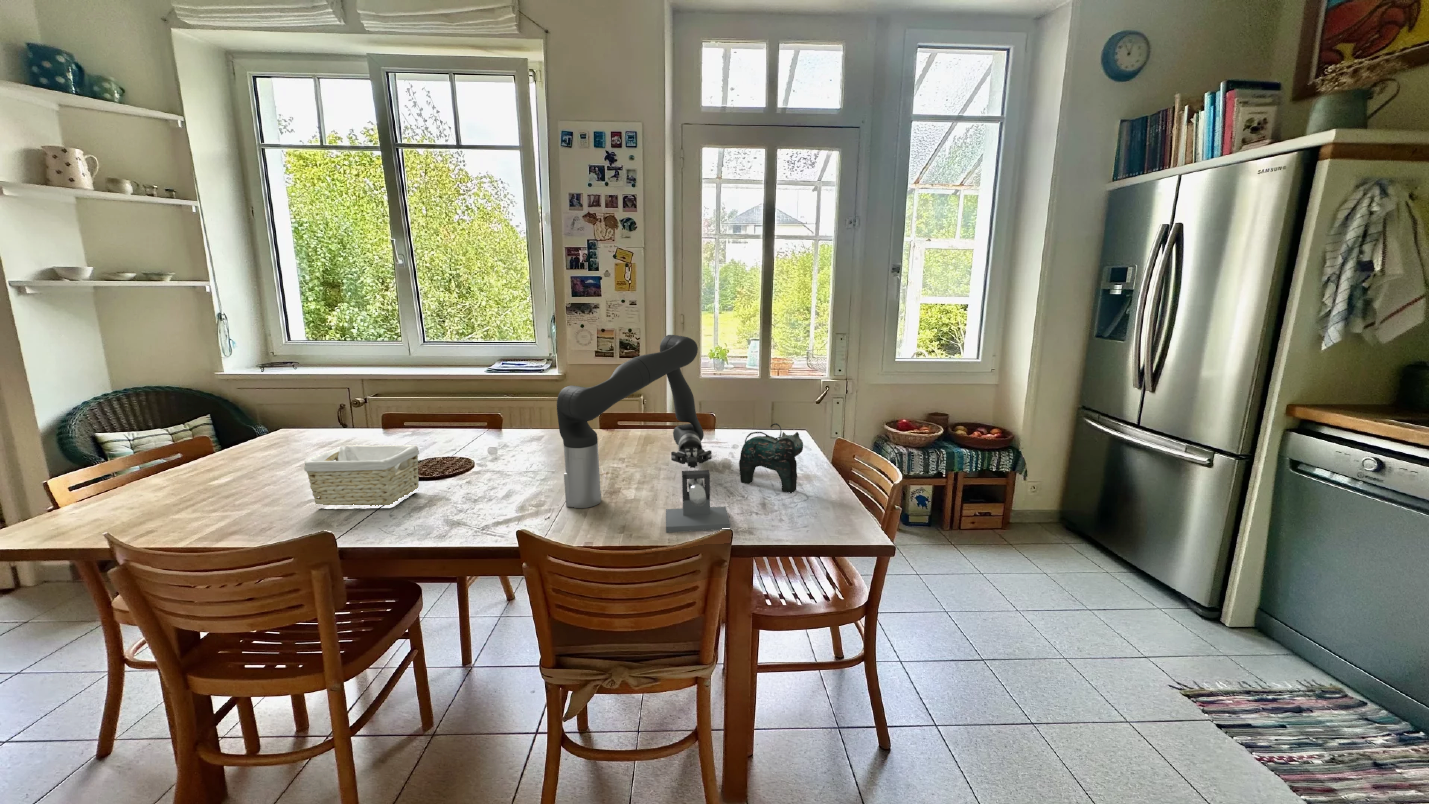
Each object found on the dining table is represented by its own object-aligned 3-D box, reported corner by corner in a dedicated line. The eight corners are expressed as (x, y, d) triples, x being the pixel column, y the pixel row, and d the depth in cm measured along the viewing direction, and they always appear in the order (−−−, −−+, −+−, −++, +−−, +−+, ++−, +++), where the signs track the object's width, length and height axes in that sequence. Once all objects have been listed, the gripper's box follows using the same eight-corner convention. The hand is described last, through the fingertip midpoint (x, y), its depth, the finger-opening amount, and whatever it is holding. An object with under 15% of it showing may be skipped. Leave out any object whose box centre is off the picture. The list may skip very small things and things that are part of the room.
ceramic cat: (803, 490, 160) (804, 425, 156) (793, 497, 155) (795, 429, 151) (745, 477, 171) (746, 416, 167) (735, 484, 166) (734, 420, 162)
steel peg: (690, 507, 131) (689, 491, 130) (688, 490, 141) (687, 476, 141) (706, 506, 131) (706, 490, 130) (703, 490, 142) (703, 475, 141)
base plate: (666, 532, 133) (665, 511, 132) (665, 514, 144) (665, 494, 143) (730, 529, 134) (730, 508, 133) (725, 511, 145) (725, 492, 144)
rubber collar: (682, 500, 139) (682, 474, 137) (682, 496, 142) (681, 470, 140) (710, 499, 139) (709, 473, 138) (709, 495, 142) (708, 469, 141)
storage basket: (308, 512, 148) (299, 460, 145) (349, 490, 164) (342, 443, 161) (393, 512, 147) (385, 461, 144) (426, 490, 163) (420, 443, 160)
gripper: (669, 436, 172) (669, 452, 155) (710, 435, 173) (715, 451, 156) (669, 459, 173) (670, 477, 156) (710, 457, 174) (715, 475, 157)
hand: (692, 464), depth 156 cm, fingers closed
